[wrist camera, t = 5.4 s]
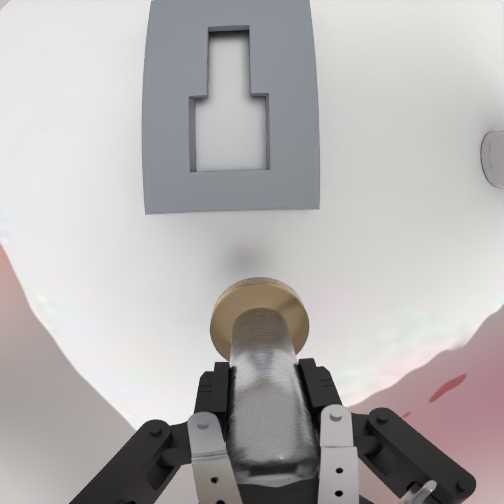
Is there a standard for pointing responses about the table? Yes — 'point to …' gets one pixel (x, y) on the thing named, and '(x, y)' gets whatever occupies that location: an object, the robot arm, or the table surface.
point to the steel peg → (265, 382)
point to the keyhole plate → (261, 84)
